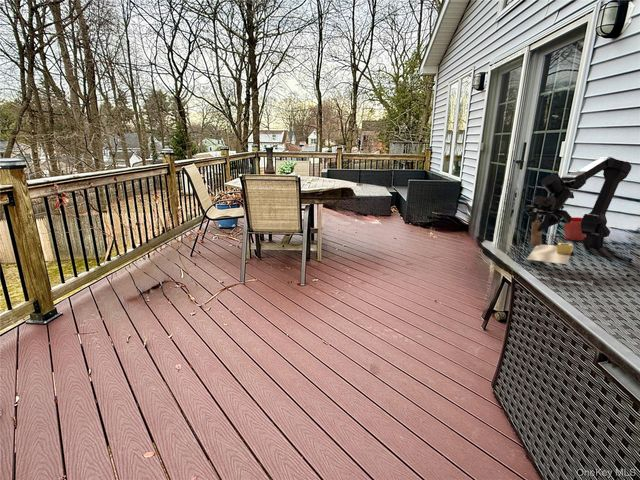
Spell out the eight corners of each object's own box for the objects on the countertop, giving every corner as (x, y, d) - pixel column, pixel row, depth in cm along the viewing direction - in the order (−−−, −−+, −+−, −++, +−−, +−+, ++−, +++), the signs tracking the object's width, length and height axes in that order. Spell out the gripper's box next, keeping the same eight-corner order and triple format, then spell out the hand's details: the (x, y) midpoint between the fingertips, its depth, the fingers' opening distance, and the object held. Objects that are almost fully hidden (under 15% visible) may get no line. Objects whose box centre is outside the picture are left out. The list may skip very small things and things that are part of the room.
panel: (584, 250, 151) (584, 248, 151) (579, 267, 132) (579, 265, 132) (527, 245, 165) (527, 243, 165) (515, 260, 146) (515, 258, 146)
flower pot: (563, 240, 167) (565, 221, 165) (560, 235, 177) (562, 217, 174) (590, 241, 162) (592, 221, 160) (585, 236, 172) (588, 217, 169)
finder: (571, 251, 148) (572, 243, 147) (570, 253, 145) (571, 245, 145) (558, 250, 152) (558, 242, 151) (556, 252, 149) (557, 244, 148)
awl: (541, 243, 144) (544, 214, 141) (540, 246, 141) (542, 216, 138) (531, 242, 146) (533, 214, 143) (529, 245, 143) (531, 215, 140)
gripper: (527, 186, 148) (505, 215, 148) (568, 190, 130) (543, 222, 130) (541, 202, 151) (519, 230, 151) (582, 207, 134) (558, 238, 134)
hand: (533, 229), depth 142 cm, fingers closed on awl, 4 cm apart
